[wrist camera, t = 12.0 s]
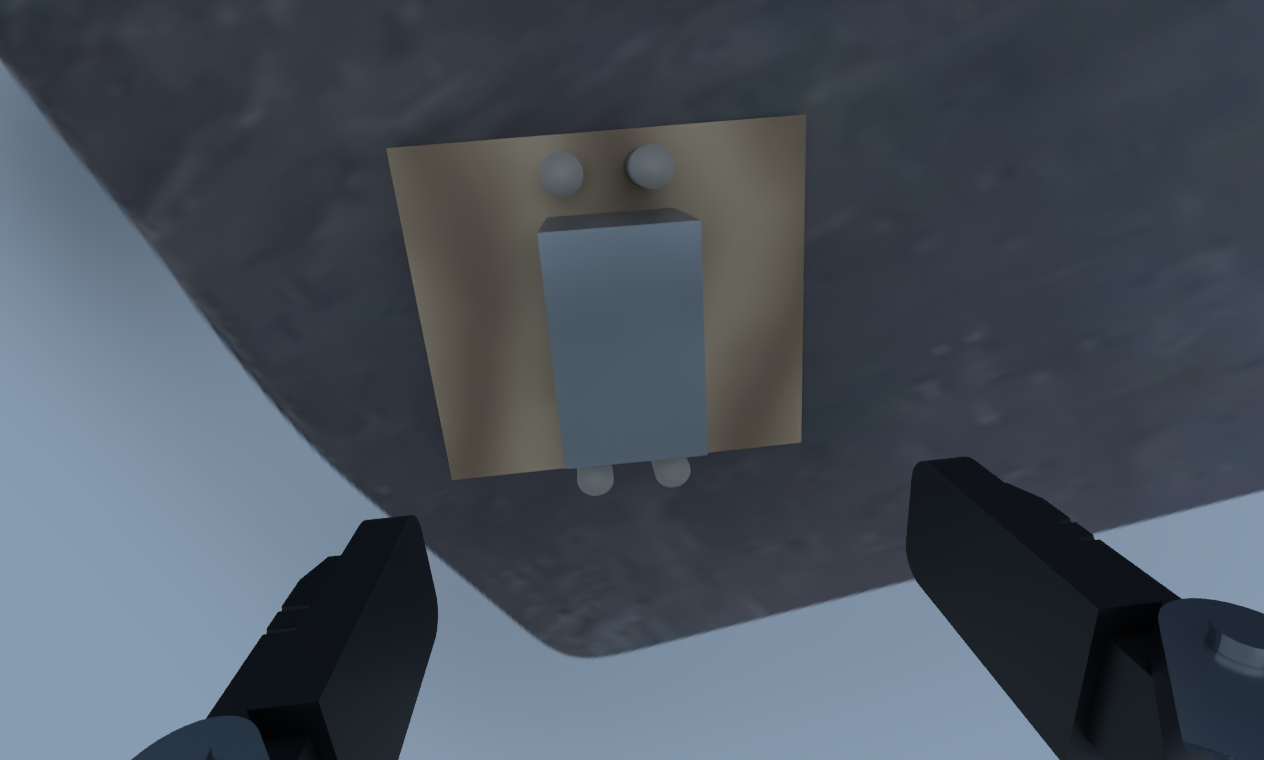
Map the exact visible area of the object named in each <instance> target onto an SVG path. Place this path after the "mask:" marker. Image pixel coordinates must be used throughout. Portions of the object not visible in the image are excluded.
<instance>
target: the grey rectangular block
mask: <svg viewBox="0 0 1264 760" xmlns="http://www.w3.org/2000/svg"><path fill="white" fill-rule="evenodd" d="M537 236H538V244H539V253H540V261H541V270H542V278H543V287H544V295H545V304H546V312H547V321H548V329H549V338H550V347H551V355H552V364H553V372H554V381H555V389H556V398H557V406H558V415H559V423H560V432H561V440H562V449H563V457H564V466H565V469H573V468H583V467H593V466H603V465H613V464H623V463H633V462H644V461H654V460H664V459H674V458H684V457H694V456H704V455H708V441H707V408H706V374H705V340H704V307H703V273H702V239H701V220H699V219H697V218H695V217H693V216H690V215H688V214H686V213H684V212H682V211H679V210H677V209H675V208H661V209H648V210H635V211H622V212H609V213H596V214H583V215H570V216H557V217H547V218H546V220H545V221H544V223H543V224H542V226H541V228H540V229H539V231H538V232H537Z"/></svg>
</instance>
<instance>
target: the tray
mask: <svg viewBox="0 0 1264 760" xmlns="http://www.w3.org/2000/svg"><path fill="white" fill-rule="evenodd" d="M386 150H387V155H388V160H389V166H390V171H391V176H392V181H393V186H394V191H395V196H396V201H397V206H398V211H399V216H400V221H401V226H402V231H403V236H404V241H405V246H406V251H407V256H408V261H409V266H410V271H411V276H412V281H413V286H414V291H415V296H416V301H417V306H418V311H419V316H420V321H421V326H422V331H423V336H424V341H425V346H426V351H427V356H428V361H429V366H430V371H431V376H432V381H433V386H434V391H435V396H436V401H437V407H438V412H439V417H440V422H441V427H442V432H443V437H444V442H445V447H446V452H447V457H448V462H449V467H450V472H451V477H452V480H459V479H468V478H478V477H487V476H496V475H505V474H515V473H524V472H533V471H543V470H552V469H561V468H565V466H564V457H563V449H562V440H561V432H560V423H559V415H558V406H557V398H556V389H555V381H554V372H553V364H552V355H551V347H550V338H549V329H548V321H547V312H546V304H545V295H544V287H543V278H542V270H541V261H540V253H539V244H538V236H537V232H538V231H539V229H540V228H541V226H542V224H543V223H544V221H545V220H546V218H547V217H557V216H570V215H583V214H596V213H609V212H622V211H635V210H648V209H661V208H675V209H677V210H679V211H682V212H684V213H686V214H688V215H690V216H693V217H695V218H697V219H699V220H701V239H702V273H703V307H704V340H705V374H706V408H707V441H708V453H709V452H719V451H728V450H737V449H747V448H756V447H765V446H774V445H784V444H793V443H801V421H802V356H803V292H804V227H805V162H806V114H805V115H792V116H780V117H767V118H755V119H743V120H730V121H718V122H705V123H693V124H680V125H668V126H656V127H643V128H631V129H618V130H606V131H593V132H581V133H569V134H556V135H544V136H531V137H519V138H507V139H494V140H482V141H469V142H457V143H444V144H432V145H420V146H407V147H395V148H386ZM652 465H653V469H654V473H655V477H656V479H657V481H658V482H659V483H660V484H661V485H663V486H666V487H677V486H680V485H682V484H683V483H685V482H686V480H687V479H688V478H689V475H690V465H689V462H688V460H687V457H684V458H674V459H664V460H654V461H652ZM613 481H614V477H613V468H612V465H603V466H593V467H583V468H577V482H578V486H579V488H580V489H581V490H582V491H583V492H584V493H586V494H588V495H592V496H599V495H602V494H604V493H606V492H608V491H609V490H610V488H611V487H612V485H613Z"/></svg>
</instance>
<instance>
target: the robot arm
mask: <svg viewBox="0 0 1264 760" xmlns="http://www.w3.org/2000/svg"><path fill="white" fill-rule="evenodd" d="M906 552H907V558H908V562H909V566H910V569H911V571H912V574H913V576H914V578H915V579H916V581H917V583H918V584H919V585H920V587H921V588H922V589H923V590H924V592H925V593H926V594H927V595H928V597H929V598H930V599H931V600H932V601H933V603H934V604H935V605H936V606H937V608H938V609H939V610H940V611H941V613H942V614H943V615H944V616H945V618H946V619H947V620H948V621H949V622H950V624H951V625H952V626H953V627H954V629H955V630H956V631H957V633H958V634H959V635H960V636H961V638H962V639H963V640H964V641H965V643H966V644H967V645H968V646H969V648H970V649H971V650H972V651H973V653H974V654H975V655H976V656H977V657H978V659H979V660H980V661H981V662H982V664H983V665H984V666H985V667H986V668H987V670H988V671H989V672H990V674H991V675H992V676H993V677H994V679H995V680H996V681H997V682H998V684H999V685H1000V686H1001V687H1002V689H1003V690H1004V691H1005V692H1006V694H1007V695H1008V696H1009V697H1010V698H1011V700H1012V701H1013V702H1014V703H1015V705H1016V706H1017V707H1018V708H1019V710H1020V711H1021V712H1022V713H1023V715H1024V716H1025V717H1026V718H1027V720H1028V721H1029V722H1030V723H1031V725H1033V727H1034V728H1035V730H1036V731H1037V732H1038V733H1039V735H1040V736H1041V737H1042V738H1043V740H1044V741H1045V742H1046V743H1047V745H1048V746H1049V747H1050V748H1051V750H1052V751H1053V752H1054V753H1055V755H1056V756H1057V757H1058V758H1059V759H1060V760H1264V614H1263V613H1260V612H1258V611H1255V610H1252V609H1249V608H1246V607H1242V606H1238V605H1235V604H1231V603H1227V602H1222V601H1217V600H1209V599H1199V598H1189V599H1181V598H1180V597H1178V596H1177V595H1175V594H1174V593H1172V592H1171V591H1170V590H1169V589H1167V588H1166V587H1164V586H1163V585H1162V584H1160V583H1159V582H1157V581H1156V580H1155V579H1153V578H1152V577H1150V576H1149V575H1148V574H1146V573H1145V572H1144V571H1142V570H1141V569H1140V568H1138V567H1137V566H1135V565H1134V564H1133V563H1131V562H1130V561H1128V560H1127V559H1126V558H1124V557H1123V556H1122V555H1120V554H1119V553H1117V552H1116V551H1115V550H1113V549H1112V548H1111V547H1109V546H1108V545H1106V544H1105V543H1104V542H1102V541H1101V540H1095V539H1094V537H1093V534H1091V533H1090V532H1088V531H1087V530H1086V529H1084V528H1083V527H1082V526H1080V525H1079V524H1077V523H1076V522H1074V523H1071V521H1070V518H1069V517H1068V516H1066V515H1065V514H1064V513H1062V512H1061V511H1059V510H1058V509H1057V508H1055V507H1054V506H1053V505H1051V504H1050V503H1048V502H1047V501H1046V500H1044V499H1043V498H1041V497H1038V496H1036V495H1034V494H1031V493H1029V492H1027V491H1024V490H1022V489H1020V488H1017V487H1015V486H1013V485H1010V484H1008V483H1004V482H1003V481H1001V480H1000V479H999V478H997V477H996V476H995V475H994V474H992V473H991V472H990V471H988V470H987V469H986V468H984V467H983V466H982V465H980V464H979V463H978V462H976V461H975V460H973V459H972V458H969V457H957V458H948V459H938V460H929V461H921V462H919V463H917V464H916V466H915V467H914V469H913V473H912V480H911V491H910V503H909V514H908V526H907V537H906ZM437 624H438V605H437V597H436V592H435V588H434V583H433V579H432V574H431V570H430V565H429V561H428V556H427V552H426V547H425V543H424V539H423V534H422V530H421V526H420V523H419V521H418V519H417V518H416V517H415V516H414V515H409V516H400V517H390V518H381V519H372V520H365V521H363V522H362V523H361V524H360V525H359V527H358V529H357V530H356V532H355V533H354V535H353V537H352V538H351V540H350V542H349V543H348V545H347V547H346V548H345V550H344V552H343V553H342V555H340V556H331V557H327V558H326V559H325V560H324V561H323V562H321V563H320V564H319V565H318V566H316V567H315V568H314V569H313V570H312V571H310V572H309V573H308V574H307V575H305V576H304V577H303V578H302V579H300V581H299V582H298V583H297V585H296V586H295V588H294V589H293V591H292V592H291V594H290V595H289V597H288V598H287V599H286V601H285V602H284V604H283V605H282V611H281V612H278V613H277V614H276V616H275V617H274V619H273V620H272V622H271V623H270V625H269V626H268V628H267V634H266V635H262V637H261V638H260V639H259V641H258V643H257V644H256V645H255V647H254V648H253V650H252V651H251V653H250V654H249V656H248V657H247V659H246V660H245V662H244V663H243V665H242V666H241V668H240V669H239V671H238V672H237V674H236V675H235V677H234V678H233V679H232V681H231V682H230V684H229V685H228V687H227V688H226V690H225V691H224V693H223V694H222V696H221V697H220V699H219V700H218V702H217V703H216V705H215V706H214V708H213V709H212V711H211V712H210V714H209V715H208V716H207V718H206V719H204V720H200V721H197V722H195V723H192V724H189V725H186V726H184V727H182V728H180V729H178V730H176V731H173V732H171V733H170V734H168V735H166V736H165V737H163V738H161V739H159V740H157V741H156V742H155V743H153V744H151V745H150V746H149V747H147V748H146V749H144V750H143V751H142V752H140V753H139V754H138V755H137V756H135V757H134V758H133V759H132V760H398V759H399V755H400V752H401V748H402V745H403V742H404V739H405V736H406V732H407V729H408V726H409V723H410V719H411V716H412V713H413V710H414V706H415V703H416V700H417V697H418V693H419V690H420V687H421V683H422V680H423V677H424V674H425V670H426V667H427V664H428V661H429V657H430V654H431V651H432V647H433V644H434V641H435V637H436V632H437Z"/></svg>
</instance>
